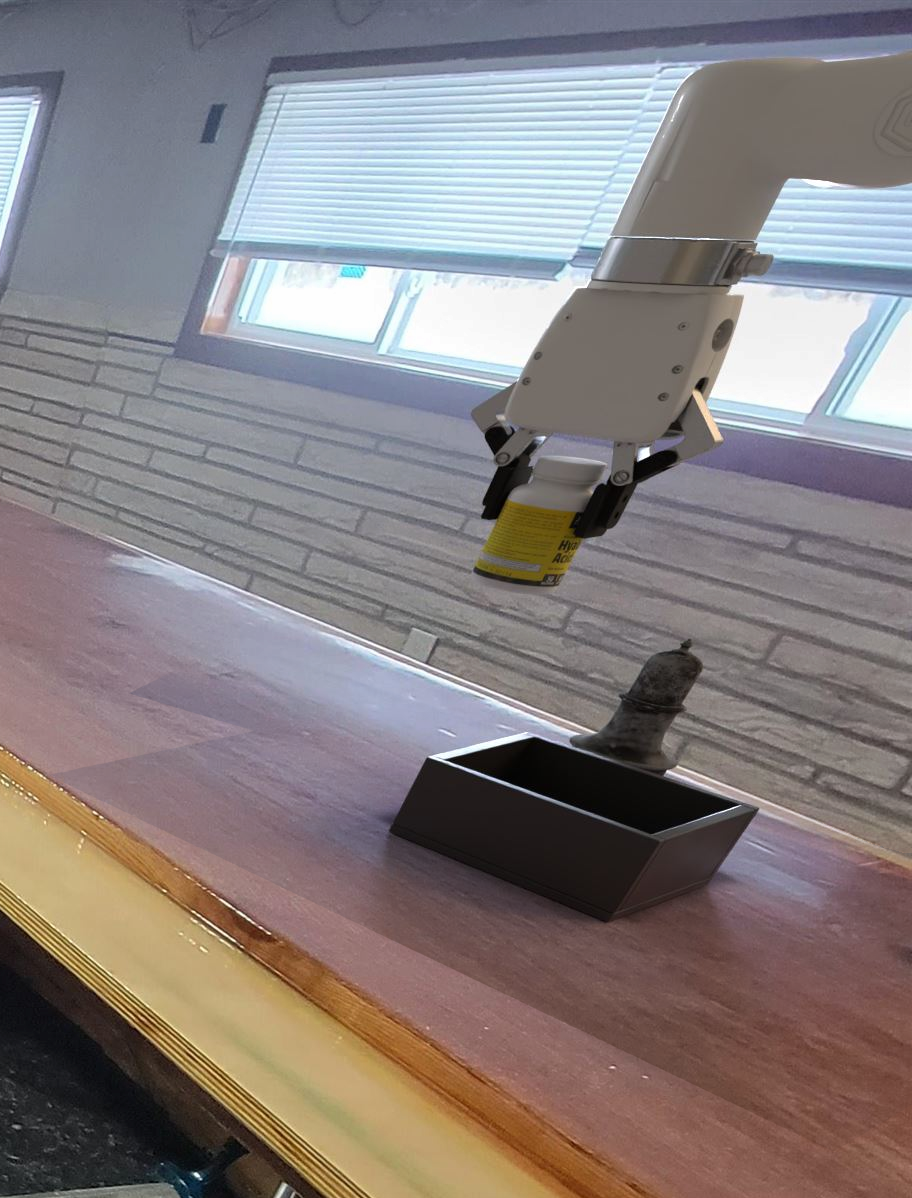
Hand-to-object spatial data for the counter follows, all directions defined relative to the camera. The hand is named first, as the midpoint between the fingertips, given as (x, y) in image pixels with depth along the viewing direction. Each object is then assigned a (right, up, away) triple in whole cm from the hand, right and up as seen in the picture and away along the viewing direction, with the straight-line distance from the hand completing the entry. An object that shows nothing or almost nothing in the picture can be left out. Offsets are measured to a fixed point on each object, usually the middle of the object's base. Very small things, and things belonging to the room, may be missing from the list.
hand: (541, 524), depth 94 cm
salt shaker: (-1, -21, -5) cm, 22 cm away
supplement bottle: (0, -4, +2) cm, 5 cm away
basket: (-14, -26, -14) cm, 33 cm away
